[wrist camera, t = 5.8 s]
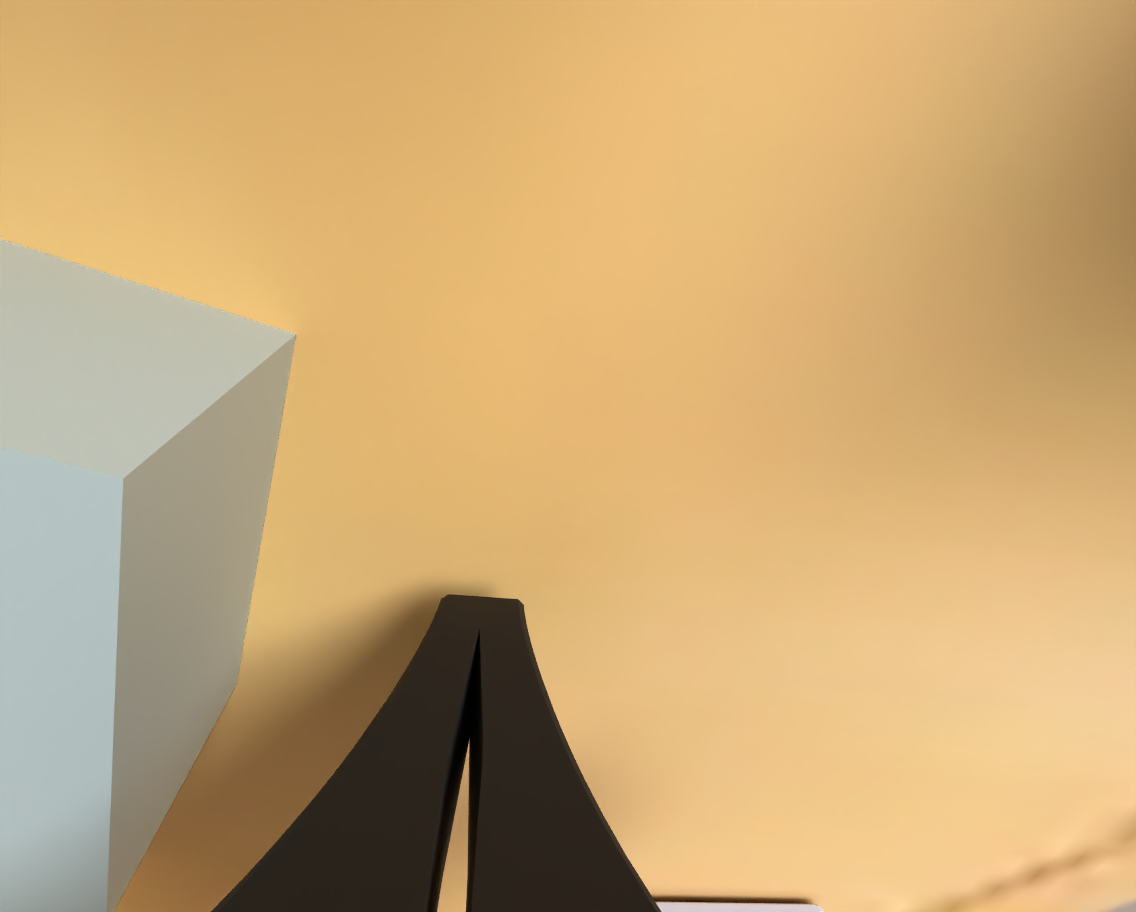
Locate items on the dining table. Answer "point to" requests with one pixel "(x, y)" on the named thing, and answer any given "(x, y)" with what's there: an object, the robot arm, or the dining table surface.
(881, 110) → the dining table surface
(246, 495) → the block
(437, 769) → the robot arm
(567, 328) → the dining table surface
